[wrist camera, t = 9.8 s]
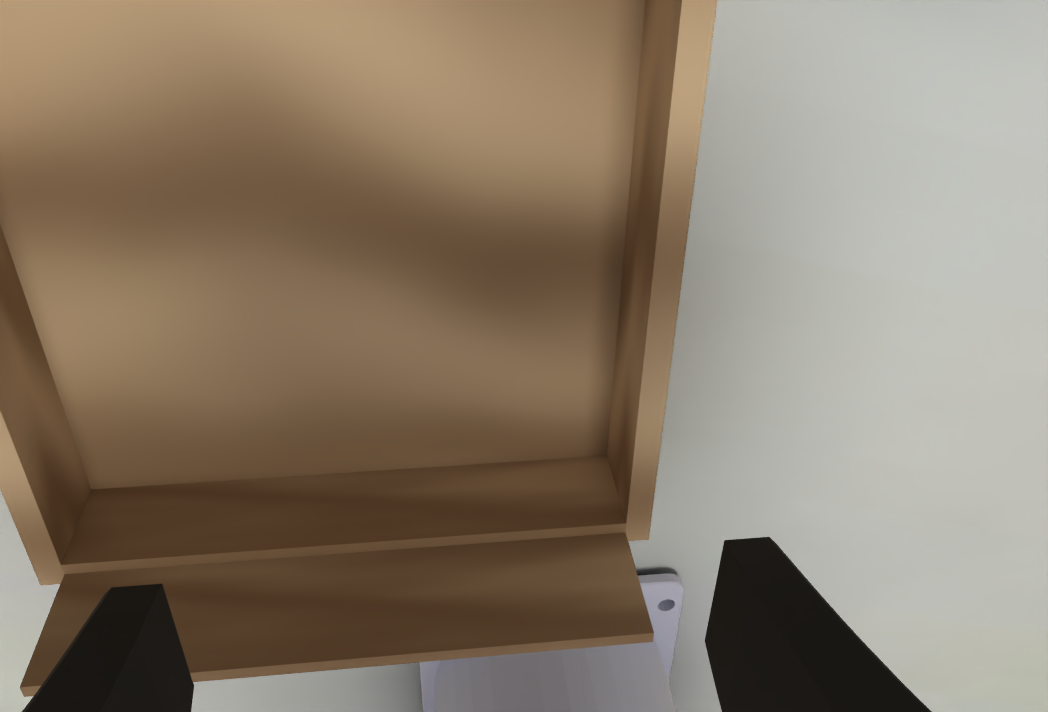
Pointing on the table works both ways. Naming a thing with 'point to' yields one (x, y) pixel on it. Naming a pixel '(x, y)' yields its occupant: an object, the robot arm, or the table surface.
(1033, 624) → the table surface
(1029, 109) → the table surface
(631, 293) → the brown wooden open box
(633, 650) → the robot arm
